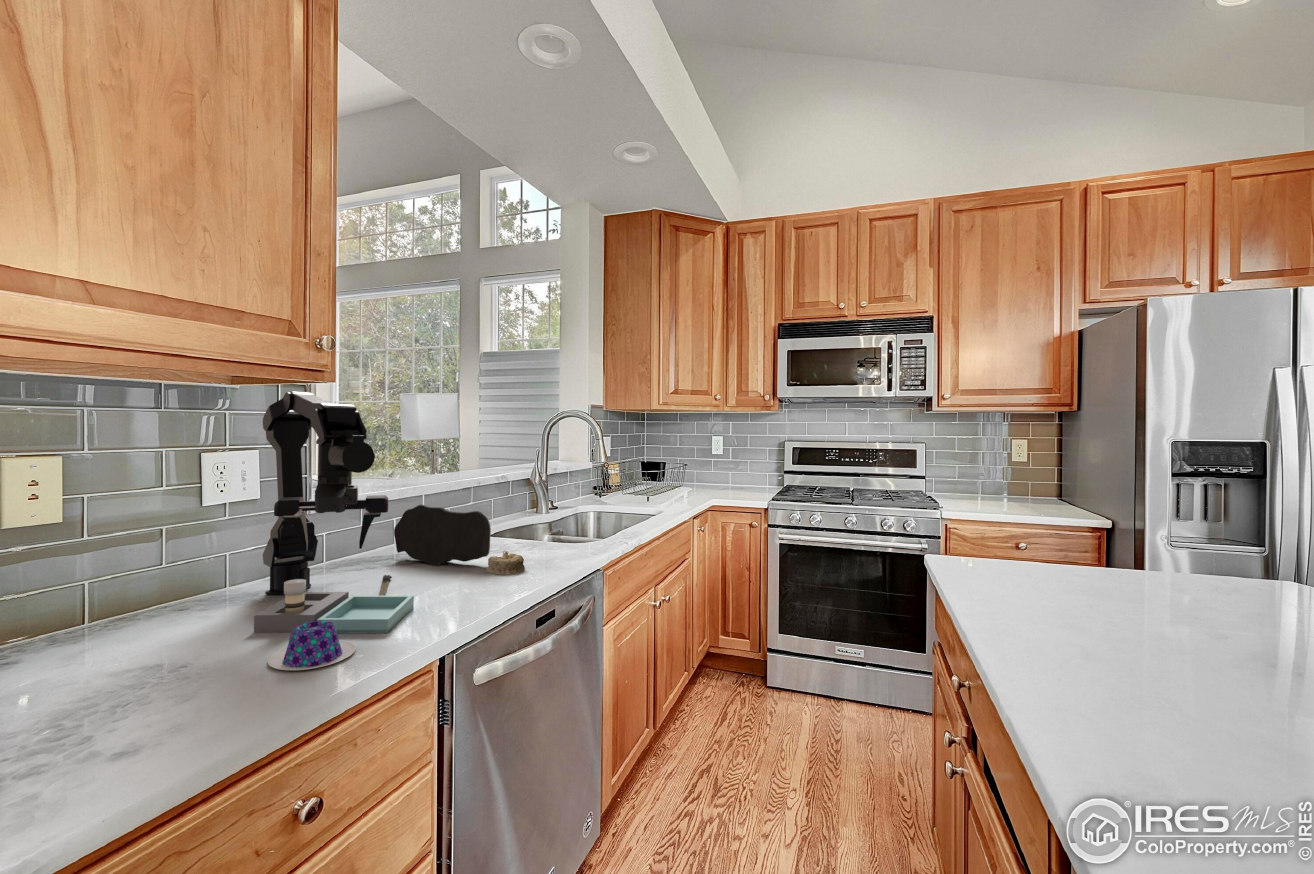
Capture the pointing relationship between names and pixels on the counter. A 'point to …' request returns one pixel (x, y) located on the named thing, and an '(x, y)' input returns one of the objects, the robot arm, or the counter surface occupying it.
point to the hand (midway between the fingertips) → (333, 549)
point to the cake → (505, 564)
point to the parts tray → (369, 613)
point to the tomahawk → (384, 585)
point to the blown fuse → (294, 595)
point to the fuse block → (286, 622)
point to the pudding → (312, 647)
